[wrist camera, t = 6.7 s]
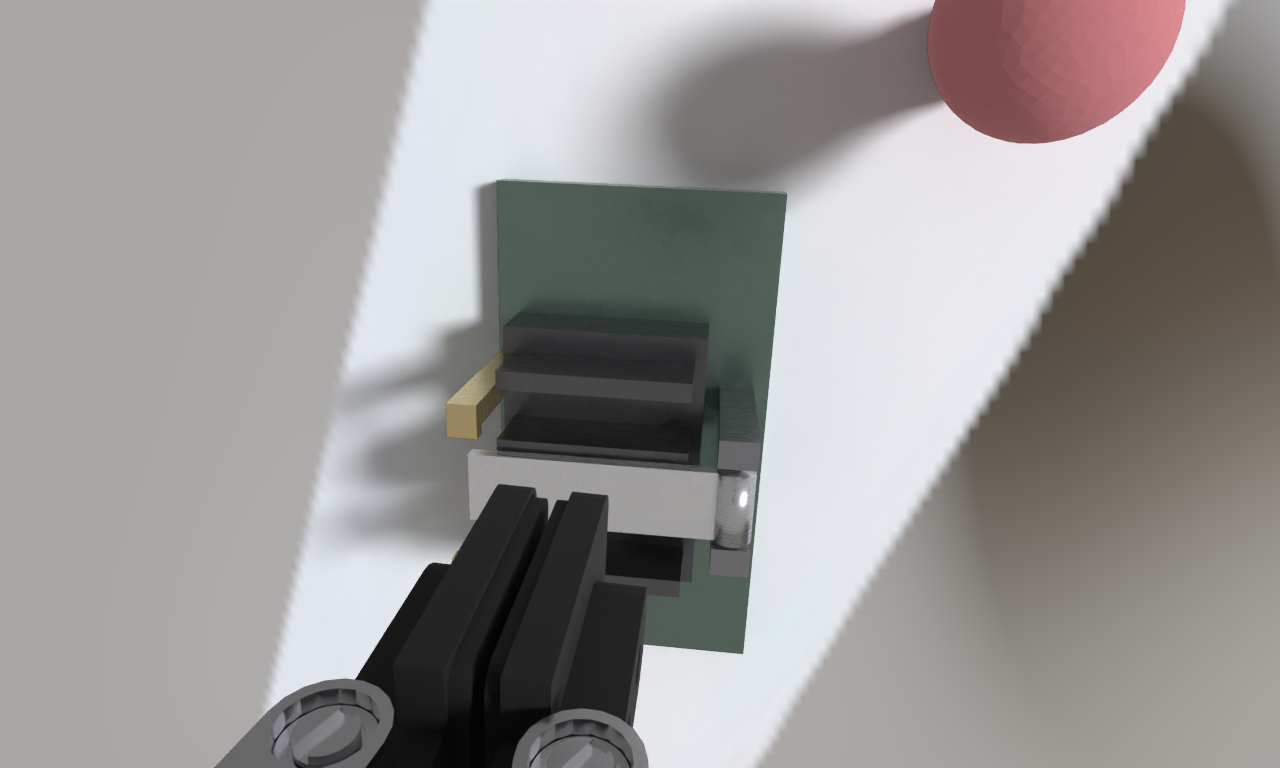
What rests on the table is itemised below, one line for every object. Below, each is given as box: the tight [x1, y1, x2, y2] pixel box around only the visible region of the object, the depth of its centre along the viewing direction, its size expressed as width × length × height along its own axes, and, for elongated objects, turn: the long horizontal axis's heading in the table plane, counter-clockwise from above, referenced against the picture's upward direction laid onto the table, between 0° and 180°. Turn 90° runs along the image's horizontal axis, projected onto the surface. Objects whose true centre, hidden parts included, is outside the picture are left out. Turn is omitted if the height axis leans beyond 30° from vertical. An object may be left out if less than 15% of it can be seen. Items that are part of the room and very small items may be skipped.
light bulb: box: [928, 0, 1185, 144], centre depth 26 cm, size 7×7×12 cm
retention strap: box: [468, 449, 757, 548], centre depth 32 cm, size 3×12×2 cm, turn 88°
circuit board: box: [446, 179, 787, 654], centre depth 35 cm, size 24×13×9 cm, turn 178°
